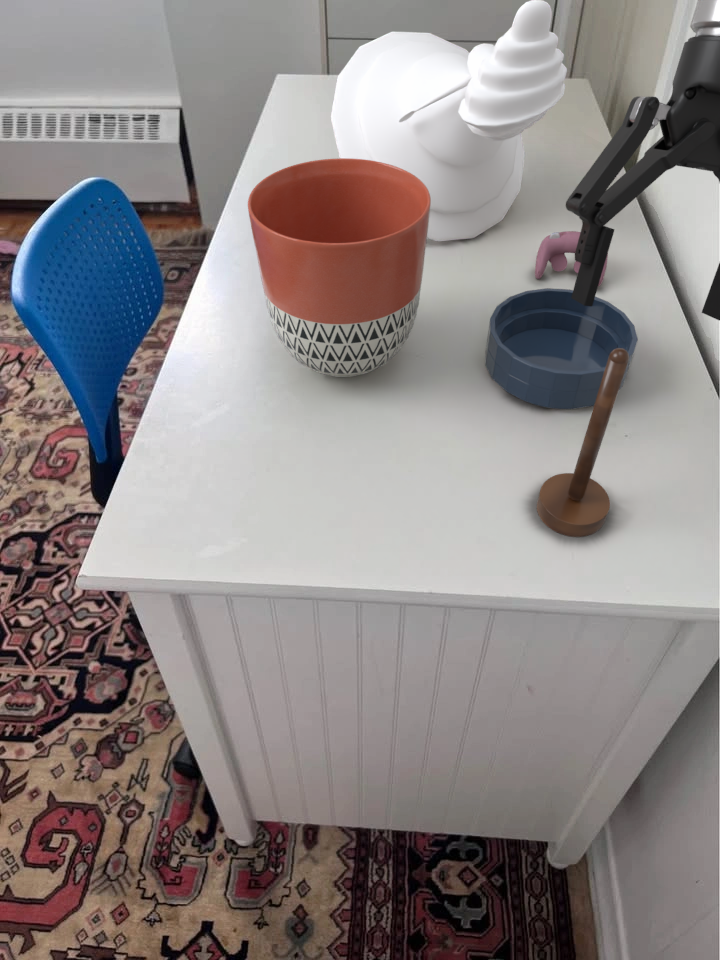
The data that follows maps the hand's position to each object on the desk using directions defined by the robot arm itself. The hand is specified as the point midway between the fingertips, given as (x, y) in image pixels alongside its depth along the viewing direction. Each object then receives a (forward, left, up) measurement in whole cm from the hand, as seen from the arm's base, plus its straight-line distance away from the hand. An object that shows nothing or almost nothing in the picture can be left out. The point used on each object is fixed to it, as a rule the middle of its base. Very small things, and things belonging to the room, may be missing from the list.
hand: (648, 310), depth 65 cm
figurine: (+47, -32, -19) cm, 60 cm away
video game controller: (+22, -30, -19) cm, 42 cm away
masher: (-2, +9, -19) cm, 21 cm away
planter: (+33, +6, -19) cm, 39 cm away
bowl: (+12, -10, -19) cm, 25 cm away
